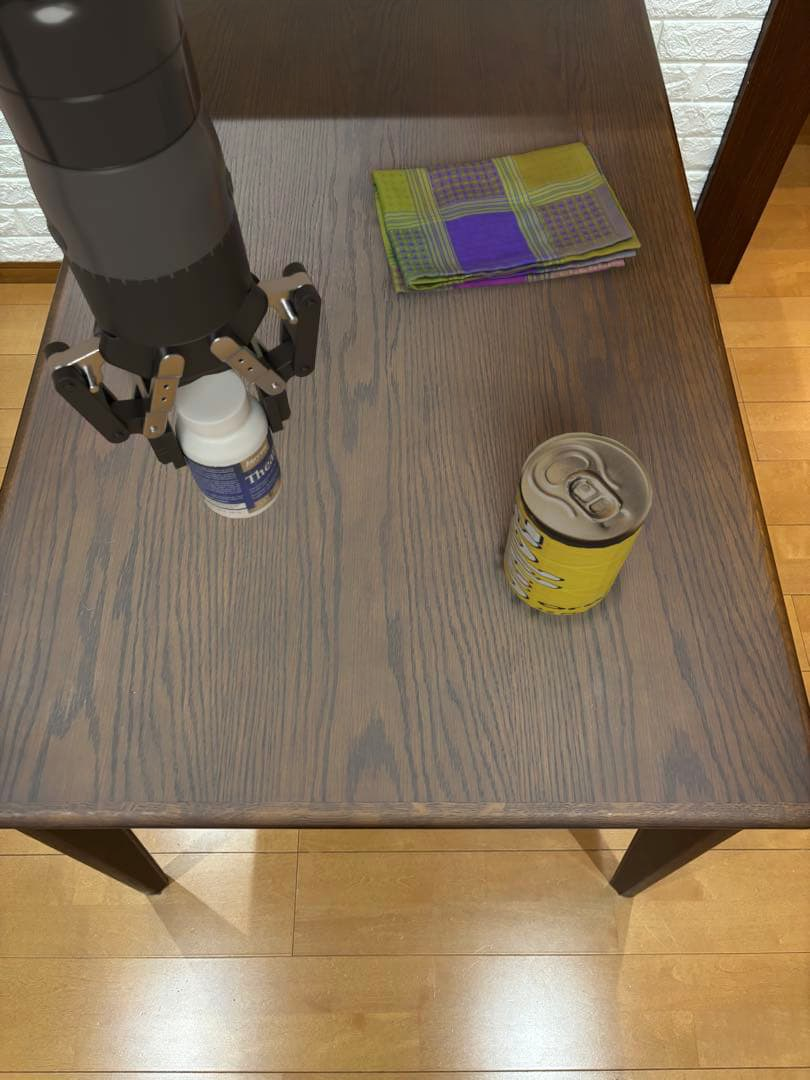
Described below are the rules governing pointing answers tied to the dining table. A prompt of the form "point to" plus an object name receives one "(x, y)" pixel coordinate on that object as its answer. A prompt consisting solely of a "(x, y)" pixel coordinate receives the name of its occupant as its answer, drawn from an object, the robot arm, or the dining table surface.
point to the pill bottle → (228, 445)
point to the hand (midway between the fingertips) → (225, 437)
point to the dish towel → (500, 220)
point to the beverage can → (574, 521)
